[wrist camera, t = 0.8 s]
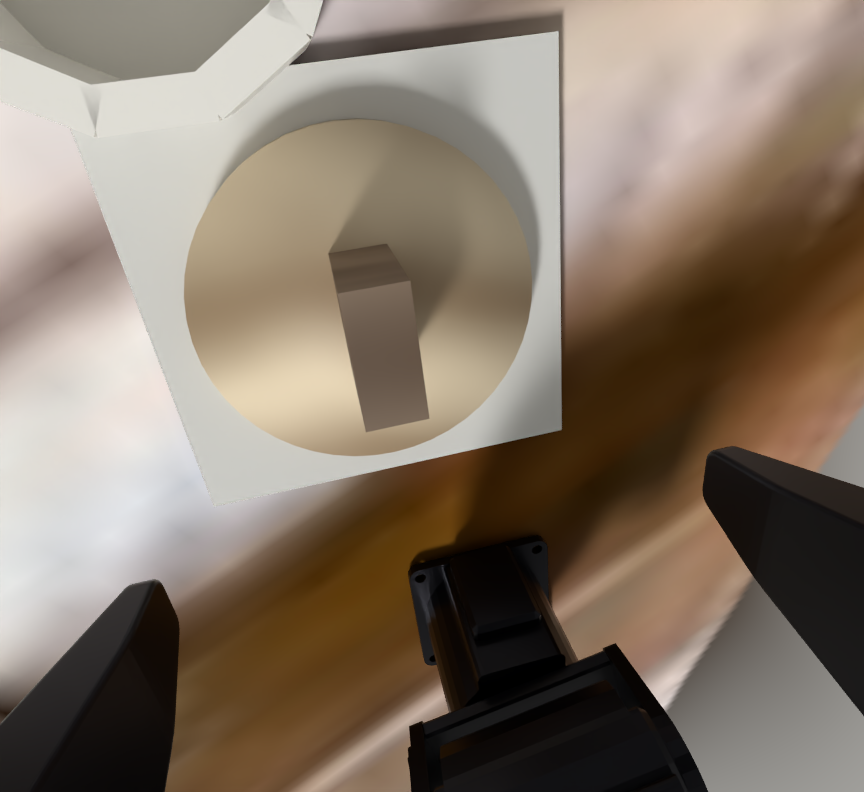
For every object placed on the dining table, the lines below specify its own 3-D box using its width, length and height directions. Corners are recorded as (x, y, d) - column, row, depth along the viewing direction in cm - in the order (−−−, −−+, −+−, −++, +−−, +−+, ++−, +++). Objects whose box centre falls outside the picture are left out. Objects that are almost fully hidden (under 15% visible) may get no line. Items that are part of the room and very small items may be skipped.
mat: (556, 422, 25) (561, 429, 24) (215, 497, 23) (214, 507, 22) (550, 32, 18) (558, 30, 17) (65, 94, 16) (57, 94, 15)
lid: (526, 405, 23) (583, 482, 19) (243, 466, 22) (231, 565, 17) (511, 94, 18) (586, 96, 13) (136, 148, 16) (79, 170, 12)
